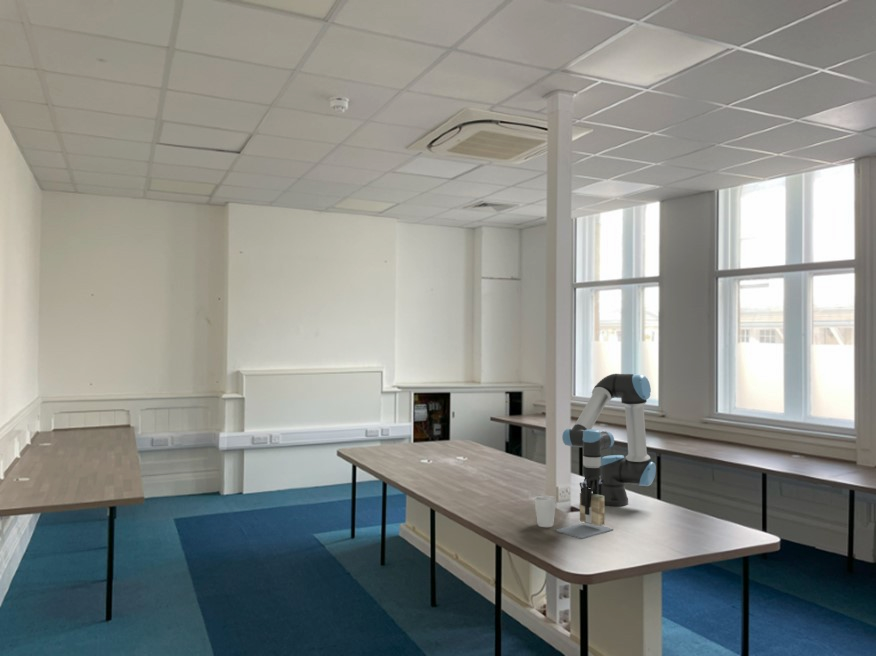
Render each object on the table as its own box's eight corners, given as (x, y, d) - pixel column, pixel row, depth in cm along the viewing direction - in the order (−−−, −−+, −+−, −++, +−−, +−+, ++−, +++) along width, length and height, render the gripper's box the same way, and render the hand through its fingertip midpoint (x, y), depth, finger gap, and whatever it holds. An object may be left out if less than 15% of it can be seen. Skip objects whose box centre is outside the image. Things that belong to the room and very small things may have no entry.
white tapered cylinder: (556, 523, 291) (556, 495, 291) (554, 528, 282) (554, 500, 283) (536, 521, 293) (536, 494, 294) (533, 527, 285) (533, 499, 285)
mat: (587, 523, 291) (587, 521, 291) (613, 530, 280) (613, 528, 280) (556, 531, 279) (555, 529, 279) (581, 538, 268) (581, 537, 268)
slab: (586, 519, 288) (586, 491, 288) (604, 524, 280) (604, 495, 280) (580, 520, 285) (579, 492, 285) (598, 525, 277) (598, 497, 277)
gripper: (597, 462, 291) (598, 516, 290) (571, 467, 281) (572, 522, 280) (611, 465, 285) (612, 519, 284) (585, 469, 275) (585, 526, 274)
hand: (592, 521), depth 282 cm, fingers closed on slab, 4 cm apart
